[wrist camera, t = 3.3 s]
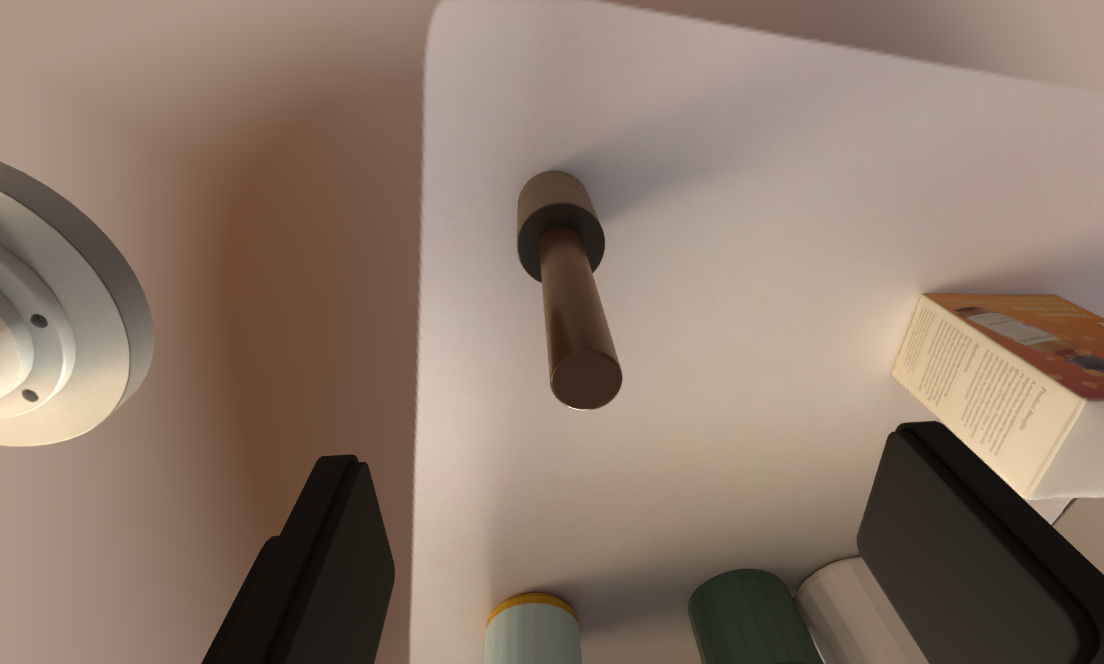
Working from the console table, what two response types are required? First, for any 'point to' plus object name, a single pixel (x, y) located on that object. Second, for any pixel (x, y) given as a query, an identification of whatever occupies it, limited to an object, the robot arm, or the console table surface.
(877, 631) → the mug
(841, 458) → the console table surface
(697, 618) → the green pen holder
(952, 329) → the small box
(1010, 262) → the console table surface
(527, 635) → the bottle
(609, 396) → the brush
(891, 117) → the console table surface
